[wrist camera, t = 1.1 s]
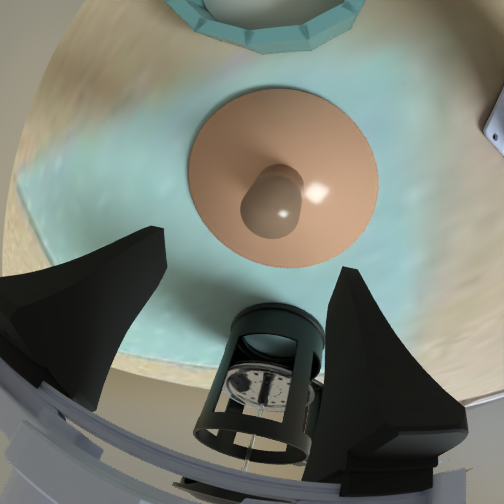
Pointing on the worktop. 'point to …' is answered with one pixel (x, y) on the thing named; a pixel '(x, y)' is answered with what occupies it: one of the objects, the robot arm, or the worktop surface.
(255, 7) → the bowl
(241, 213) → the lid
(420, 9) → the worktop surface
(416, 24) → the worktop surface
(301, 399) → the french press
